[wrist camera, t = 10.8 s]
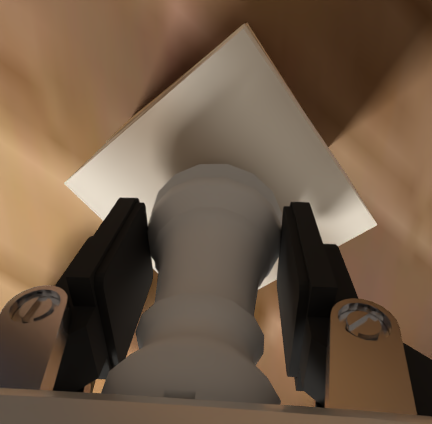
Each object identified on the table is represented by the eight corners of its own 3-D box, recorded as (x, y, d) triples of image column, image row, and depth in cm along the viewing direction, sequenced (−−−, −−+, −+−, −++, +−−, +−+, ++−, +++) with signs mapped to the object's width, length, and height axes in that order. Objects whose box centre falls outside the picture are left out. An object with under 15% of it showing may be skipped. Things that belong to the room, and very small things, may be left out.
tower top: (213, 256, 20) (204, 318, 16) (105, 142, 17) (63, 183, 13) (346, 174, 17) (377, 225, 13) (244, 22, 14) (243, 28, 10)
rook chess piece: (235, 286, 14) (225, 552, 7) (133, 231, 13) (8, 475, 6) (308, 201, 12) (391, 454, 5) (193, 131, 11) (109, 322, 4)
